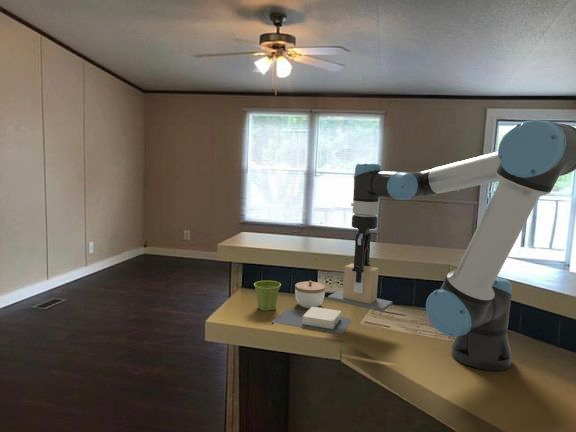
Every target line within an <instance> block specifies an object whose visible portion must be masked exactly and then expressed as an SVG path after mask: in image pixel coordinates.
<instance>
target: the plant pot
mask: <svg viewBox="0 0 576 432" xmlns="http://www.w3.org/2000/svg"><path fill="white" fill-rule="evenodd" d="M253 286H254V288H255V292H256V299H257V300H256V301H257V308H258V309H259V310H260V311H263V312H264V311H265V312H269V311H274V310H276V308H277V303H278V302H277V301H278V295H279V291H280V289H281V286H282V283H281V282H278V281H276V280H259V281H255V282H254V283H253Z"/></svg>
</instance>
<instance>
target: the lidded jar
mask: <svg viewBox="0 0 576 432" xmlns="http://www.w3.org/2000/svg"><path fill="white" fill-rule="evenodd" d="M325 294H326V284H323V283H321V282H316V281H312V280H308V281H299V282H297V283H295V285H294V296H295V300H296V302H297V303H298V305H299V306H300V307H302V308H305V309H310V308H311V307H318V308H319V307H320V306H321V305H322V303H323V301H324V299H325Z"/></svg>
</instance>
